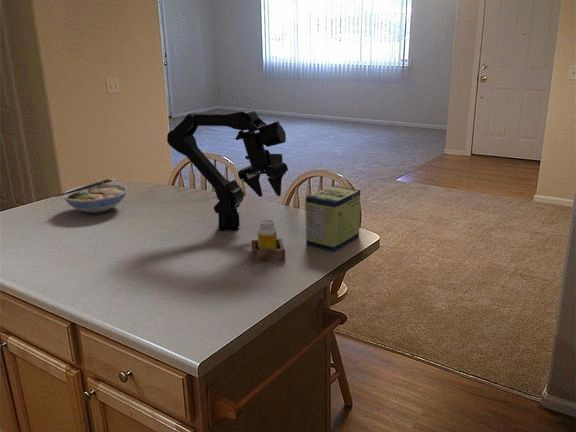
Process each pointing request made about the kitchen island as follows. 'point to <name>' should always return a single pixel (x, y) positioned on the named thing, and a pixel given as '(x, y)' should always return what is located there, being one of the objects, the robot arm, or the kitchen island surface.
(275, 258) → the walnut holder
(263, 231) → the supplement bottle
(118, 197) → the ramen bowl
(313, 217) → the protein box
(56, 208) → the kitchen island surface
